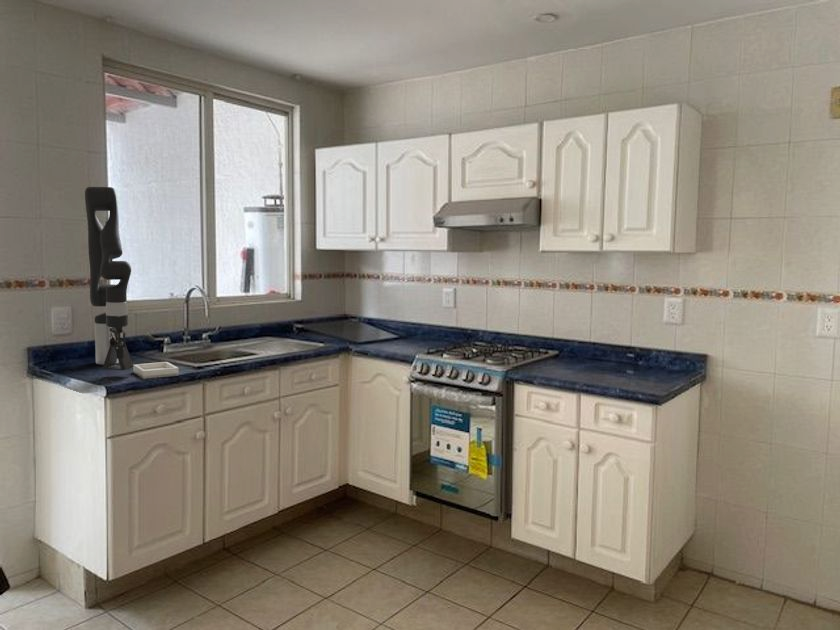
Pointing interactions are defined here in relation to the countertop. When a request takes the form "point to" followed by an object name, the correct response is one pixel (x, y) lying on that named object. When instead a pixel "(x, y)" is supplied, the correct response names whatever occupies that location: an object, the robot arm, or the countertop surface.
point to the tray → (155, 370)
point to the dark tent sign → (112, 358)
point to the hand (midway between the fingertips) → (117, 356)
